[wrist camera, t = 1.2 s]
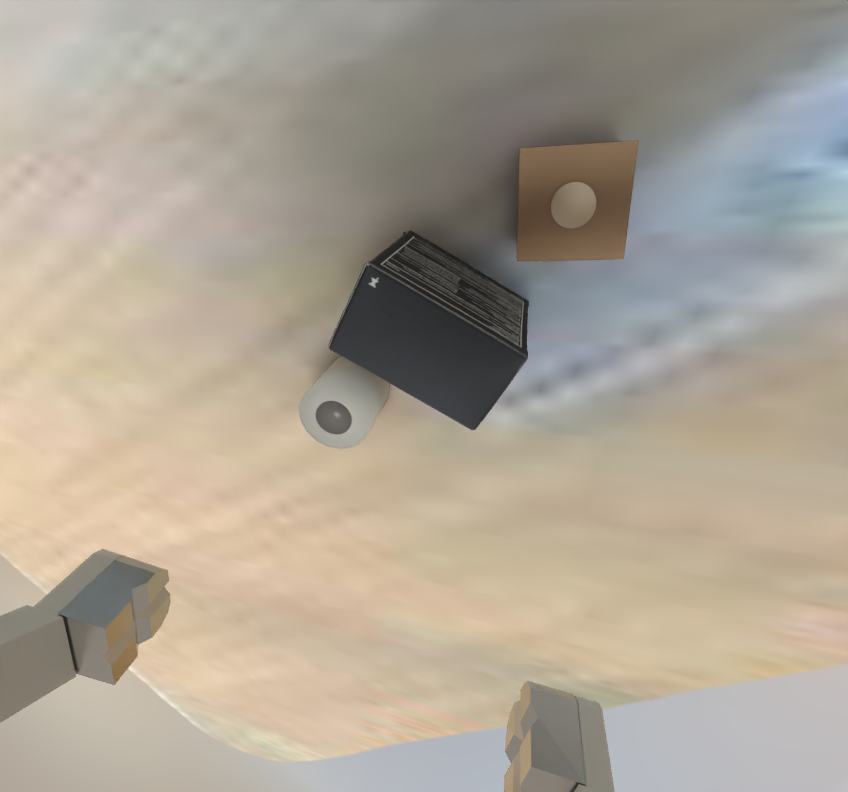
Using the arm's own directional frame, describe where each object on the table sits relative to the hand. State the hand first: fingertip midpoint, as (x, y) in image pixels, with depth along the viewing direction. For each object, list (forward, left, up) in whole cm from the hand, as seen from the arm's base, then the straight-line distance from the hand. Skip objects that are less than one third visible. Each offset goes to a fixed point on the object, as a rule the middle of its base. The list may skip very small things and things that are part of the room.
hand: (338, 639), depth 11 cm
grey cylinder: (+10, -8, -29) cm, 32 cm away
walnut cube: (-8, +4, -29) cm, 31 cm away
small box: (+1, -2, -29) cm, 30 cm away
